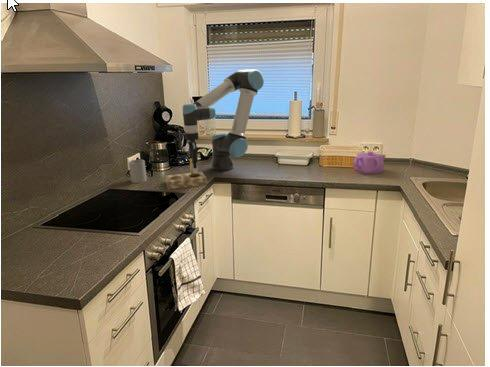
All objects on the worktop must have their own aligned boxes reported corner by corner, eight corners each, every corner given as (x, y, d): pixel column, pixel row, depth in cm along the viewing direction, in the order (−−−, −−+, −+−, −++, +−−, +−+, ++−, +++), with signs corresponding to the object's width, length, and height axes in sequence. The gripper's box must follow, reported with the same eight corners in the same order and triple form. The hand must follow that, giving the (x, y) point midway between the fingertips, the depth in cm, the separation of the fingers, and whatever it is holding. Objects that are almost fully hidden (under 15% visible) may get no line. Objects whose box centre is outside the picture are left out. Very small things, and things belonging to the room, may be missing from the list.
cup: (141, 183, 206) (138, 163, 203) (128, 182, 209) (125, 163, 205) (149, 178, 215) (147, 159, 211) (136, 177, 217) (134, 159, 214)
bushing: (198, 177, 207) (196, 157, 203) (199, 179, 203) (197, 159, 199) (190, 178, 206) (189, 158, 202) (191, 180, 202) (190, 159, 198)
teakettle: (352, 173, 211) (353, 153, 208) (356, 166, 226) (357, 148, 222) (382, 176, 204) (384, 156, 201) (384, 169, 219) (386, 149, 215)
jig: (202, 177, 213) (201, 171, 212) (206, 184, 200) (206, 177, 199) (165, 182, 207) (165, 175, 206) (168, 189, 194) (167, 182, 193)
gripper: (182, 130, 203) (185, 169, 210) (187, 135, 187) (190, 176, 194) (195, 129, 205) (198, 167, 212) (200, 134, 189) (203, 175, 196)
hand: (194, 172), depth 203 cm, fingers closed on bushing, 4 cm apart
